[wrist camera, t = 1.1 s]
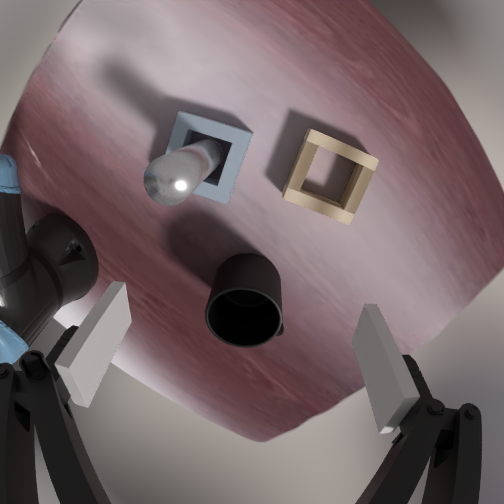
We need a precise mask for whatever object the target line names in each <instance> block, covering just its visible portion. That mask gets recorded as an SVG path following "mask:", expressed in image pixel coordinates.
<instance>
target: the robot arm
mask: <svg viewBox="0 0 504 504" xmlns="http://www.w3.org/2000/svg"><path fill="white" fill-rule="evenodd" d="M20 193H21V188H20V187H19V181H18V173H17V165H16V162H15V160H14V159H13V158H12V157H11V156H10V155H7V154H0V504H39V502H38V493H37V483H36V470H35V452H34V451H35V449H34V423H35V427H36V431H37V435H38V439H39V443H40V446H41V450H42V453H43V457H44V460H45V463H46V466H47V469H48V472H49V475H50V478H51V481H52V483H53V486H54V489H55V491H56V494H57V496H58V499H59V501H60V504H111V502H110V500H109V498H108V496H107V494H106V493H105V491H104V489H103V487H102V485H101V483H100V481H99V479H98V476H97V474H96V472H95V470H94V468H93V466H92V464H91V461H90V459H89V457H88V454H87V452H86V449H85V447H84V445H83V442H82V439H81V437H80V434H79V432H78V429H77V426H76V423H75V421H74V418H73V415H72V412H71V409H70V406H69V404H68V400H69V398H70V396H71V398H72V400H73V402H74V403H75V404H78V405H81V406H84V407H87V408H88V407H89V405H90V403H91V401H92V398H93V396H94V394H95V392H96V390H97V388H98V386H99V384H100V382H101V380H102V378H103V376H104V374H105V372H106V370H107V368H108V366H109V364H110V362H111V360H112V358H113V356H114V354H115V352H116V350H117V348H118V346H119V344H120V343H121V341H122V339H123V337H124V335H125V333H126V331H127V329H128V328H129V326H130V324H131V322H132V321H131V315H130V310H129V304H128V298H127V291H126V285H125V283H124V282H117V281H113V282H112V283H111V284H110V286H109V287H108V288H107V290H106V291H105V292H104V294H103V295H102V296H101V298H100V299H99V300H98V302H97V303H96V304H95V306H94V307H93V308H92V310H91V311H90V312H89V314H88V315H87V317H86V318H85V319H84V321H83V322H82V324H81V325H80V326H79V327H78V326H74V325H73V326H71V327H70V328H68V329H67V330H66V331H65V332H64V333H63V335H62V336H61V337H60V339H59V340H58V342H57V343H56V345H55V346H54V347H53V349H52V350H51V352H50V353H49V355H48V356H47V357H46V359H45V357H44V355H43V353H41V352H40V351H36V350H33V351H29V352H26V351H27V350H28V348H29V347H30V345H31V344H32V343H33V341H34V340H35V339H36V337H37V336H38V335H39V334H40V332H41V331H42V330H43V329H44V327H45V326H46V325H47V323H48V322H49V321H50V320H51V318H52V317H53V316H54V315H55V314H56V312H57V311H58V310H59V309H60V308H61V307H62V306H64V305H66V304H68V303H70V302H72V301H75V300H78V299H80V298H82V297H84V296H85V295H86V294H87V293H88V292H89V291H90V290H91V288H92V287H93V286H94V284H95V283H96V280H97V277H98V269H99V268H98V259H97V255H96V252H95V249H94V247H93V244H92V242H91V241H90V239H89V237H88V236H87V234H86V233H85V232H84V231H83V229H82V228H81V227H80V226H79V225H78V224H76V223H75V222H74V221H72V220H71V219H69V218H67V217H65V216H62V215H57V214H52V215H48V216H45V217H44V218H42V219H40V220H39V221H37V222H36V223H35V224H34V225H33V226H32V227H31V228H30V230H29V231H28V233H27V234H25V228H24V222H23V215H22V207H21V197H20ZM352 344H353V347H354V350H355V354H356V357H357V360H358V363H359V366H360V369H361V373H362V376H363V379H364V382H365V386H366V389H367V392H368V395H369V399H370V402H371V406H372V409H373V413H374V416H375V420H376V424H377V428H378V431H379V434H382V433H390V432H394V431H395V429H396V428H397V427H398V426H400V430H401V432H400V433H399V435H398V436H397V437H396V438H395V439H394V440H393V442H392V443H393V445H392V447H391V449H390V451H389V452H388V454H387V456H386V457H385V459H384V461H383V463H382V464H381V466H380V468H379V469H378V471H377V472H376V474H375V475H374V477H373V478H372V480H371V482H370V483H369V485H368V486H367V488H366V489H365V490H364V492H363V493H362V495H361V496H360V498H359V499H358V500H357V502H356V503H355V504H407V503H408V501H409V499H410V497H411V495H412V494H413V492H414V490H415V488H416V486H417V484H418V482H419V480H420V478H421V476H422V474H423V471H424V469H425V467H426V465H427V463H428V460H429V458H430V464H429V470H428V475H427V481H426V486H425V491H424V495H423V499H422V504H478V500H479V490H480V479H481V460H482V424H481V413H480V410H479V409H478V408H477V407H476V406H475V405H473V404H471V403H466V404H463V405H462V406H461V408H460V409H459V410H457V409H449V408H445V406H444V404H443V403H442V402H441V401H439V400H437V399H434V398H433V397H432V395H431V393H430V391H429V389H428V386H427V384H426V382H425V380H424V378H423V377H422V373H421V371H419V367H418V365H417V363H416V361H415V360H414V359H413V358H412V357H411V356H410V355H401V352H400V350H399V348H398V346H397V344H396V342H395V340H394V338H393V336H392V334H391V332H390V330H389V328H388V326H387V324H386V322H385V320H384V318H383V316H382V314H381V312H380V310H379V308H378V306H377V304H364V307H363V310H362V313H361V316H360V319H359V322H358V325H357V327H356V330H355V333H354V336H353V339H352ZM24 352H26V353H25V354H24V355H22V354H23V353H24ZM21 355H22V357H21V359H20V360H19V365H20V367H21V369H22V371H15V370H14V368H13V366H12V365H11V364H13V363H14V362H16V361H17V359H18V358H19V357H20V356H21ZM430 456H431V457H430Z"/></svg>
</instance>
